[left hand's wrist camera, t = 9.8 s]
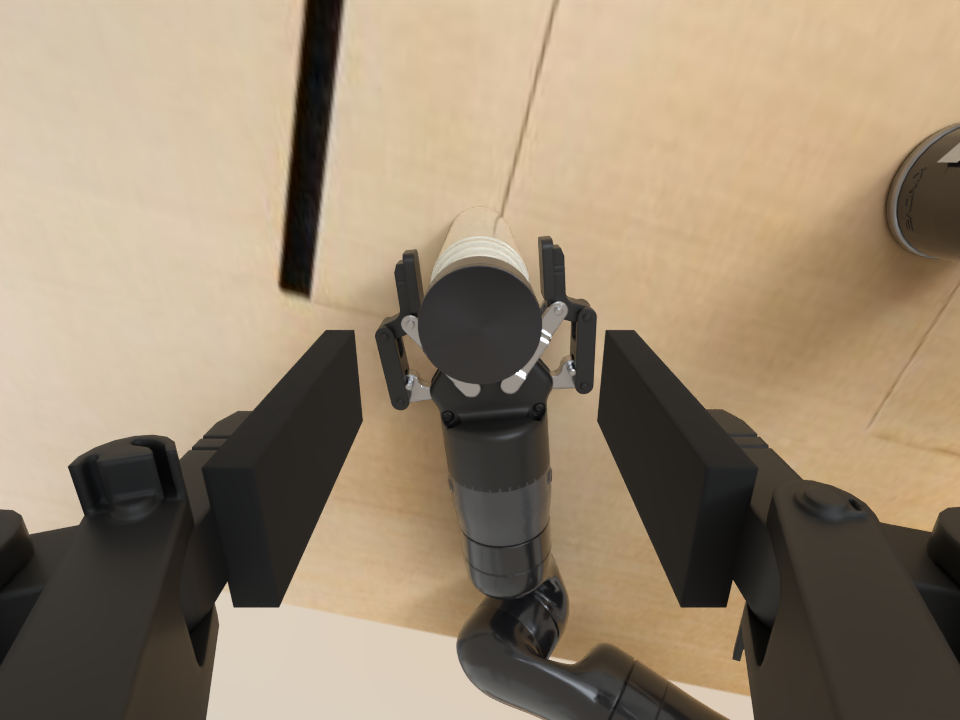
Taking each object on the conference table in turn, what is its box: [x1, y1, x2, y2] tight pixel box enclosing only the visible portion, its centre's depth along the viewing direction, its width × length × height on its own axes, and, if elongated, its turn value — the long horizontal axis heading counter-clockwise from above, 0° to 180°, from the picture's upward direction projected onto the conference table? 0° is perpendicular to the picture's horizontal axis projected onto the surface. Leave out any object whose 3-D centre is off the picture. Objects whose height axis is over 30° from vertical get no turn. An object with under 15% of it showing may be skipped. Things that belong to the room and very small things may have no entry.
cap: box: [418, 256, 542, 384], centre depth 19 cm, size 4×4×2 cm
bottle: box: [430, 207, 530, 284], centre depth 28 cm, size 5×5×21 cm
